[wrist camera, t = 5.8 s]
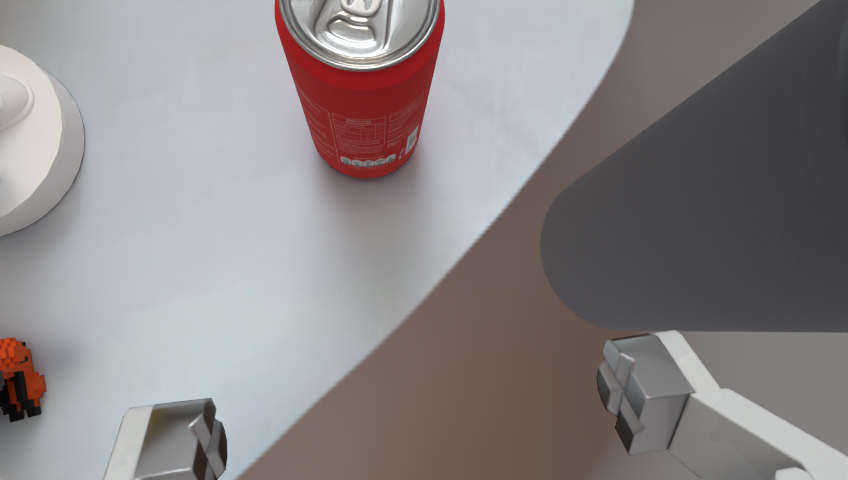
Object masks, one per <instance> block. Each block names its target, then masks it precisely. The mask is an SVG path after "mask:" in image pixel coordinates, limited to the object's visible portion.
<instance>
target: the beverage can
mask: <svg viewBox="0 0 848 480" xmlns="http://www.w3.org/2000/svg"><path fill="white" fill-rule="evenodd" d="M275 21H276V26H277V30H278V34H279V37H280V40H281V43H282V46H283V49H284V52H285V55H286V58H287V61H288V64H289V68H290V71H291V74H292V77H293V80H294V83H295V86H296V89H297V92H298V95H299V98H300V102H301V105H302V108H303V111H304V114H305V117H306V120H307V123H308V126H309V129H310V132H311V136H312V139H313V141H314V144H315V147H316V149H317V150H318V152H319V154H320V155H321V157H322V158H323V159H324V160H325V161H326V162H327V163H328V164H329V165H330V166H331V167H333V168H334V169H336V170H337V171H339V172H341V173H343V174H346V175H348V176H352V177H356V178H376V177H380V176H384V175H387V174H389V173H391V172H393V171H395V170H396V169H398V168H399V167H401V166H402V165H403V164H404V163H405V162H406V161H407V160H408V159H409V157H410V156H411V154H412V153H413V151H414V149H415V147H416V145H417V142H418V138H419V134H420V129H421V125H422V121H423V116H424V112H425V108H426V103H427V99H428V95H429V90H430V86H431V82H432V77H433V73H434V69H435V64H436V60H437V56H438V51H439V47H440V43H441V38H442V34H443V29H444V22H445V8H444V1H443V0H275Z"/></svg>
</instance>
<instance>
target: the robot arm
mask: <svg viewBox="0 0 848 480" xmlns="http://www.w3.org/2000/svg"><path fill="white" fill-rule="evenodd" d="M602 354H603V355H604V358H605V359H606V360H605V361H604V362H603V363H602V364H601V365H600V366H599V367H598V372H597V385H598V391H599V394H600V398H601V400H602V402H603V405H604V407H605V409H606V410H607V411H609V412H610V413H612V414H613V415H615V416H616V417H617V422H616V426H615V429H616V430H617V433H618V434H619V436H620V438H621V440H622V442H623V444H624V446H625V448H626V450H627V452H628V454H629V455H633V454H641V453H648V452H655V451H662V450H668V452H669V453H670V454H671V455H672V456H674V457H675V458H676V459H677V460H678V461H680V462H681V463H682V464H683V465H685V466H686V467H687V468H688V469H689V470H691V471H692V472H693V473H694V474H695V475H697V476H698V477H699V478H700V479H702V480H848V456H846V455H844V454H843V453H841V452H839V451H837V450H836V449H834V448H832V447H830V446H829V445H827V444H825V443H823V442H822V441H820V440H818V439H816V438H815V437H813V436H811V435H809V434H807V433H806V432H804V431H802V430H800V429H799V428H797V427H795V426H794V425H792V424H790V423H788V422H787V421H785V420H783V419H781V418H780V417H778V416H776V415H774V414H772V413H771V412H769V411H767V410H765V409H763V408H762V407H760V406H758V405H757V404H755V403H753V402H751V401H750V400H748V399H746V398H744V397H743V396H741V395H739V394H737V393H736V392H733V391H732V390H730V389H728V388H726V389H721V388H720V386H719V385H718V384H717V382H716V381H715V380H714V378H713V377H712V376H711V374H710V373H709V371H707V369H706V367H705V366H704V365H703V363H702V362H701V361H700V359H699V358H698V357H697V355H696V354H695V352H694V351H693V350H692V348H691V347H690V346H689V344H688V343H687V342H686V340H685V339H684V337H683V336H682V335H681V333H679V332H678V331H676V330H672V331H665V332H658V333H652V334H650V333H648V334H642V335H636V336H630V337H623V338H617V339H611V340H607V341H606V342H605V343H604V345H603V350H602ZM215 413H216V407H215V405H214V403H213V401H212V398H205V399H197V400H188V401H180V402H171V403H163V404H156V405H148V406H141V407H133V408H129V409H128V411H127V412H126V413H125V415H124V416H123V419H122V422H121V425H120V428H119V431H118V434H117V438H116V441H115V444H114V447H113V450H112V453H111V456H110V459H109V462H108V465H107V468H106V471H105V475H104V478H103V480H218V478H219V477H220V476H221V475H222V473H223V472H224V471H225V470H226V461H227V439H226V434H225V430H224V427H223V425H222V422H220V421H218V420H216V419H215Z"/></svg>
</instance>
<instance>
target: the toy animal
mask: <svg viewBox="0 0 848 480" xmlns="http://www.w3.org/2000/svg"><path fill="white" fill-rule="evenodd" d="M25 347H26V344H25V342H21V341H16V338H6V339H0V407H2V410H3V415H7V414H9V419H10V422H14V421H18V420H21V419H24V415H23V410H27V416H28V417H32V416H36V415H40V414H41V409H40V403H39V397H43V395H42V392H46V387H45V381H44V376H43V375H41V376H39V373H38V372H36V373H34V370H33V364H32V359H31V353H30V349H27V350H26V348H25Z"/></svg>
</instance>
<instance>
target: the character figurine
mask: <svg viewBox="0 0 848 480" xmlns="http://www.w3.org/2000/svg"><path fill="white" fill-rule="evenodd" d="M84 138H85V135H84V128H83V122H82V118H81V115H80V112H79V110H78V107H77V105H76V103H75V101H74V100H73V98H72V97H71V95H70V94H69V92H68V91H67V90H66V89H65V88H64V87H63V86H62V85H61V84H60V83H59V82H58V81H57V80H56V79H55V78H54V77H52V76H51V75H50V74H49V73H47V72H46V71H45V70H43V69H42V68H41V67H40V66H38V65H37V64H36V63H35V62H33V61H32V60H30V59H28V58H27V57H25V56H24V55H22V54H21V53H19V52H18V51H16V50H14V49H11V48H8V47H5V46H2V45H0V236H3V235H7V234H11V233H13V232H16V231H18V230H20V229H23V228H25V227H27V226H29V225H31V224H32V223H34V222H35V221H37V220H38V219H40V218H42V217H43V216H45V215H46V214H47V213H48V212H49V211H50V210H51V209H52V208H53V207H54V206H56V205H57V204H58V203H59V202H60V200H61V199H62V198H63V196H64V195H65V194H66V192H67V191H68V190H69V188H70V187H71V185H72V183H73V181H74V179H75V177H76V175H77V173H78V171H79V168H80V164H81V161H82V157H83V153H84Z"/></svg>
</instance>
